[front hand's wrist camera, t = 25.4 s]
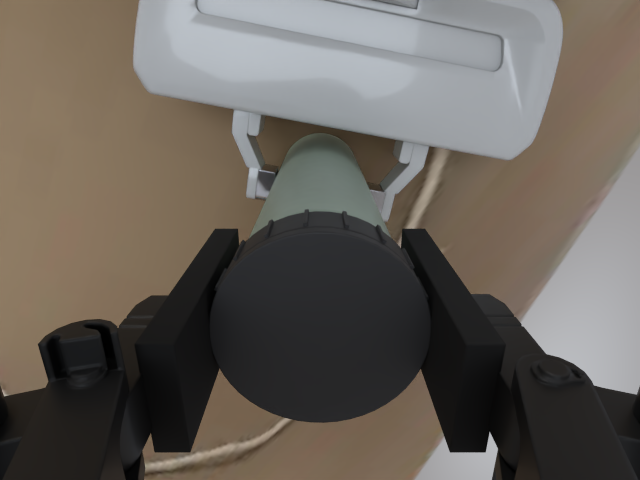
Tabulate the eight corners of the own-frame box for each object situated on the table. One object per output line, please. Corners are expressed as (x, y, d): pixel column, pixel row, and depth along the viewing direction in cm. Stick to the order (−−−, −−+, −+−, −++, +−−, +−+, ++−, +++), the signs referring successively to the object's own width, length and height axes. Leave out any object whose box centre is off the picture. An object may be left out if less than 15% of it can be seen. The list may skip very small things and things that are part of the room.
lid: (313, 163, 11) (312, 177, 9) (461, 299, 12) (482, 332, 10) (180, 307, 12) (159, 340, 10) (325, 413, 13) (326, 457, 12)
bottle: (294, 123, 28) (248, 201, 10) (367, 145, 29) (447, 258, 11) (274, 194, 30) (205, 370, 12) (343, 214, 31) (378, 412, 12)
